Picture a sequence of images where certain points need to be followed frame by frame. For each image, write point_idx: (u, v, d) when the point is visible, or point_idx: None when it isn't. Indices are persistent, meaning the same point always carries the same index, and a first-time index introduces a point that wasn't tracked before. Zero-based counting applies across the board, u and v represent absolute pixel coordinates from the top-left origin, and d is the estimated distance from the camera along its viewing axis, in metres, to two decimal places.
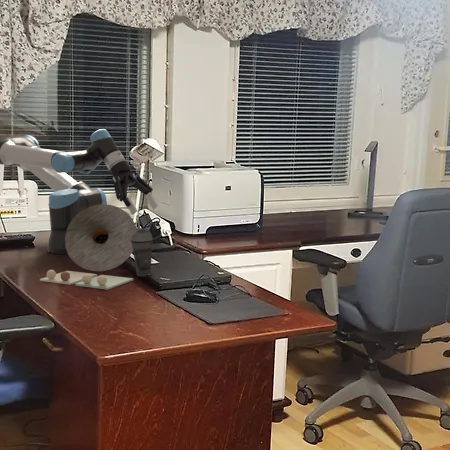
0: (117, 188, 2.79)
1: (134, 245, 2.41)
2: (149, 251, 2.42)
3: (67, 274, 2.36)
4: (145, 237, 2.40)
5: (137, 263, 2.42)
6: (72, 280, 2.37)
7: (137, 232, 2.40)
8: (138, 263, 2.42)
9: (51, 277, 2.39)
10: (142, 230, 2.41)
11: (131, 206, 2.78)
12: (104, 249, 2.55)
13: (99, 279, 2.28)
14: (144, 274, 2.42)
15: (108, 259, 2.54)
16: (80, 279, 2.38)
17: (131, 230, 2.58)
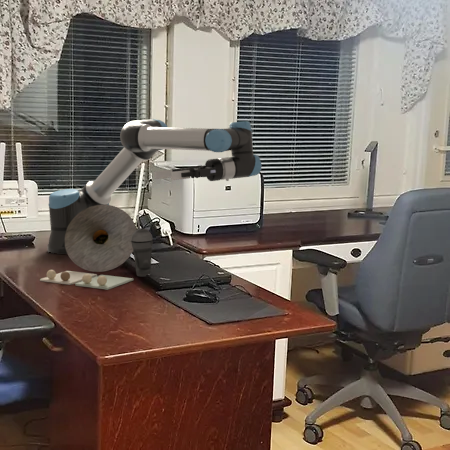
0: (204, 173, 2.43)
1: (134, 245, 2.41)
2: (149, 251, 2.42)
3: (67, 274, 2.36)
4: (145, 237, 2.40)
5: (137, 263, 2.42)
6: (72, 280, 2.37)
7: (137, 232, 2.40)
8: (138, 263, 2.42)
9: (51, 277, 2.39)
10: (142, 230, 2.41)
11: (179, 176, 2.40)
12: (104, 249, 2.55)
13: (99, 279, 2.28)
14: (144, 274, 2.42)
15: (108, 260, 2.53)
16: (80, 279, 2.38)
17: (131, 231, 2.57)
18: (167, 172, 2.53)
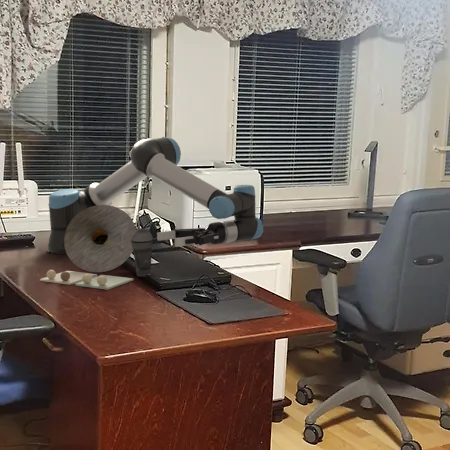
0: (208, 240, 2.45)
1: (134, 245, 2.41)
2: (149, 251, 2.42)
3: (67, 274, 2.36)
4: (145, 237, 2.40)
5: (137, 263, 2.42)
6: (72, 280, 2.37)
7: (137, 232, 2.40)
8: (138, 263, 2.42)
9: (51, 277, 2.39)
10: (142, 230, 2.41)
11: (183, 243, 2.42)
12: (103, 250, 2.54)
13: (99, 279, 2.28)
14: (144, 274, 2.42)
15: (107, 260, 2.52)
16: (80, 279, 2.38)
17: (131, 231, 2.56)
18: (170, 233, 2.55)
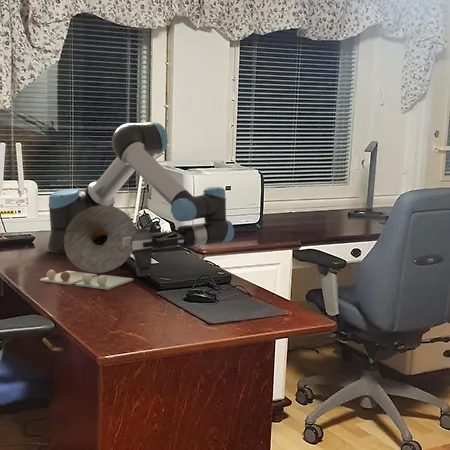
0: (168, 243, 2.40)
1: None
2: (149, 251, 2.42)
3: (67, 274, 2.36)
4: (145, 237, 2.40)
5: (137, 263, 2.42)
6: (72, 280, 2.37)
7: (137, 232, 2.40)
8: (138, 263, 2.42)
9: (51, 277, 2.39)
10: (142, 230, 2.41)
11: (141, 246, 2.38)
12: (103, 250, 2.53)
13: (99, 279, 2.28)
14: (144, 274, 2.42)
15: (107, 261, 2.51)
16: (80, 279, 2.38)
17: (130, 231, 2.55)
18: None
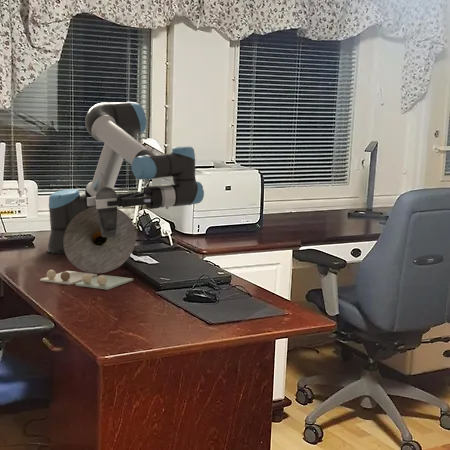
0: (134, 203, 2.30)
1: None
2: (114, 211, 2.32)
3: (67, 274, 2.36)
4: (110, 196, 2.30)
5: (102, 223, 2.32)
6: (72, 280, 2.37)
7: (101, 191, 2.31)
8: (103, 223, 2.32)
9: (51, 277, 2.39)
10: (107, 189, 2.31)
11: (105, 205, 2.28)
12: (102, 251, 2.52)
13: (99, 279, 2.28)
14: (109, 235, 2.33)
15: (106, 261, 2.51)
16: (80, 279, 2.38)
17: (130, 232, 2.55)
18: None
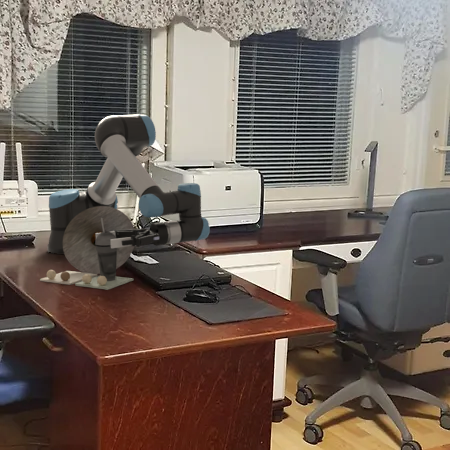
0: (146, 241, 2.32)
1: (98, 249, 2.33)
2: (114, 255, 2.34)
3: (67, 274, 2.36)
4: None
5: (101, 267, 2.34)
6: (72, 280, 2.37)
7: (101, 236, 2.33)
8: (102, 267, 2.34)
9: (51, 277, 2.39)
10: (106, 233, 2.33)
11: (119, 244, 2.29)
12: None
13: (99, 279, 2.28)
14: (109, 279, 2.35)
15: None
16: (80, 279, 2.38)
17: None
18: None
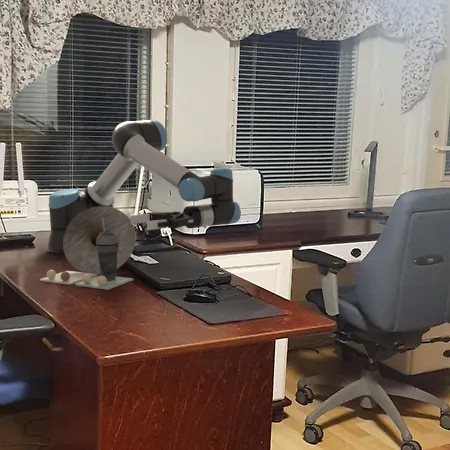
0: (181, 223, 2.38)
1: (98, 248, 2.33)
2: (114, 255, 2.34)
3: (67, 274, 2.36)
4: (110, 240, 2.32)
5: (101, 267, 2.34)
6: (72, 280, 2.37)
7: (101, 235, 2.33)
8: (102, 267, 2.34)
9: (51, 277, 2.39)
10: (107, 233, 2.33)
11: (155, 226, 2.35)
12: None
13: (99, 279, 2.28)
14: (109, 278, 2.35)
15: None
16: (80, 279, 2.38)
17: (130, 233, 2.53)
18: (144, 217, 2.47)
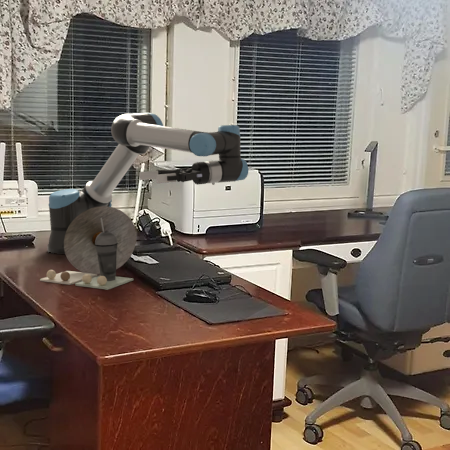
0: (190, 177, 2.40)
1: (98, 249, 2.33)
2: (113, 255, 2.34)
3: (67, 274, 2.36)
4: (109, 240, 2.32)
5: (101, 267, 2.34)
6: (72, 280, 2.37)
7: (100, 236, 2.33)
8: (102, 267, 2.34)
9: (51, 277, 2.39)
10: (106, 233, 2.33)
11: (165, 179, 2.37)
12: None
13: (99, 279, 2.28)
14: (109, 279, 2.35)
15: None
16: (80, 279, 2.38)
17: (131, 233, 2.52)
18: (153, 173, 2.49)
